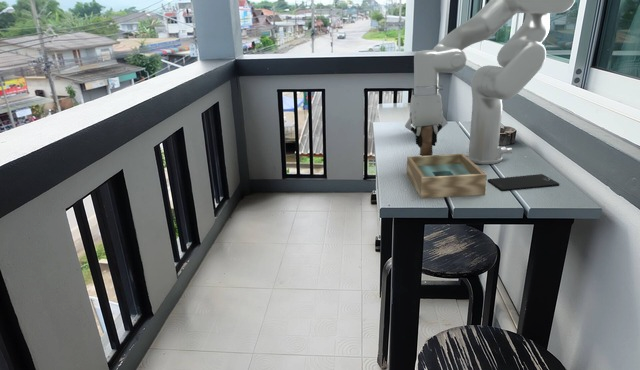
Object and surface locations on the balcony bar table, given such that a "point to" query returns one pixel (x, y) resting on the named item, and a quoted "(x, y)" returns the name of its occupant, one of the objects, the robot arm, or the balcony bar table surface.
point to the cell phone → (522, 182)
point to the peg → (426, 141)
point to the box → (445, 176)
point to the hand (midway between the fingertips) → (426, 144)
